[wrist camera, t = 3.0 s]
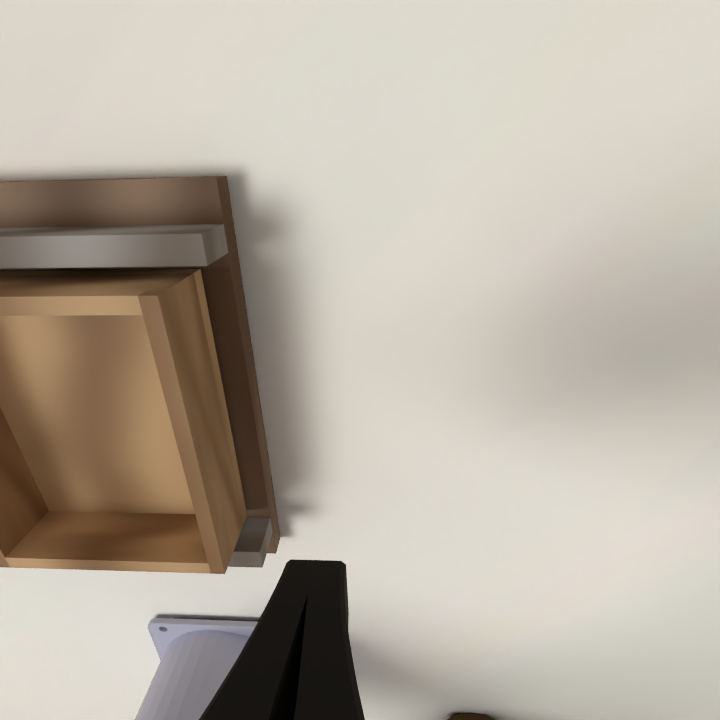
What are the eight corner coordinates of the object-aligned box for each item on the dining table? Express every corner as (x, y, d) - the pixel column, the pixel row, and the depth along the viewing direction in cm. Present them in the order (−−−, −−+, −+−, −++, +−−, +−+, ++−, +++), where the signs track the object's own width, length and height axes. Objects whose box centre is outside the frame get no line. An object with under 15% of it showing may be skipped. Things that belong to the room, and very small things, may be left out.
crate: (200, 269, 15) (157, 295, 12) (247, 514, 20) (224, 573, 18) (-61, 272, 16) (-161, 298, 13) (49, 510, 21) (-3, 567, 18)
